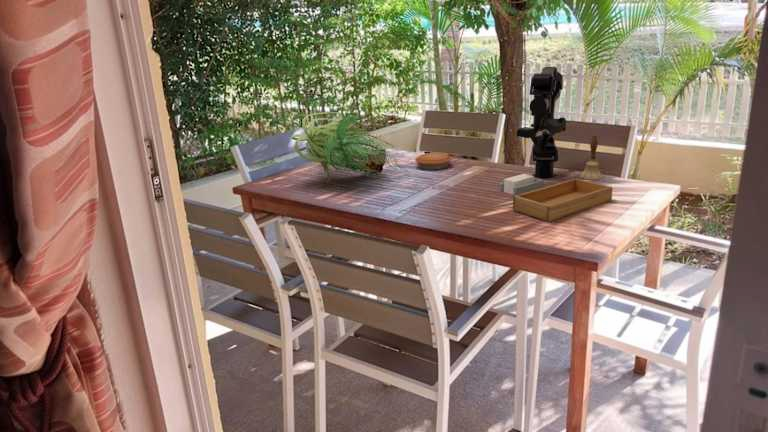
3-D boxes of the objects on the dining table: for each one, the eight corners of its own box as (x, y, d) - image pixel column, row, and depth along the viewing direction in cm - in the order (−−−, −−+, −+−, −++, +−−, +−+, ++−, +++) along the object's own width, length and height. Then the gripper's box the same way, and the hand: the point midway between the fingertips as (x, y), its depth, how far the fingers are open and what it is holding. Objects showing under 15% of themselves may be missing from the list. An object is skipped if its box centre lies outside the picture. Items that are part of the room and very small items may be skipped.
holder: (526, 183, 224) (526, 176, 223) (543, 189, 217) (543, 181, 216) (499, 190, 218) (499, 182, 217) (515, 196, 210) (515, 188, 209)
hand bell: (606, 175, 228) (609, 134, 222) (598, 181, 222) (600, 138, 216) (585, 172, 233) (587, 132, 228) (576, 178, 227) (578, 136, 222)
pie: (454, 162, 260) (454, 150, 259) (449, 171, 246) (449, 159, 244) (418, 162, 264) (418, 150, 262) (412, 171, 250) (411, 159, 248)
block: (523, 186, 221) (523, 173, 220) (533, 189, 217) (534, 176, 216) (503, 192, 216) (504, 179, 214) (514, 195, 212) (514, 181, 210)
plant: (416, 166, 226) (322, 131, 206) (368, 221, 247) (278, 194, 227) (402, 106, 248) (315, 69, 228) (358, 161, 269) (275, 131, 249)
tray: (574, 192, 212) (575, 176, 210) (611, 202, 200) (612, 185, 199) (512, 212, 196) (512, 195, 195) (548, 224, 184) (549, 206, 183)
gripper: (539, 116, 201) (537, 161, 206) (578, 108, 210) (576, 152, 215) (515, 112, 210) (515, 156, 215) (554, 105, 219) (553, 147, 224)
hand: (540, 153), depth 217 cm, fingers closed
